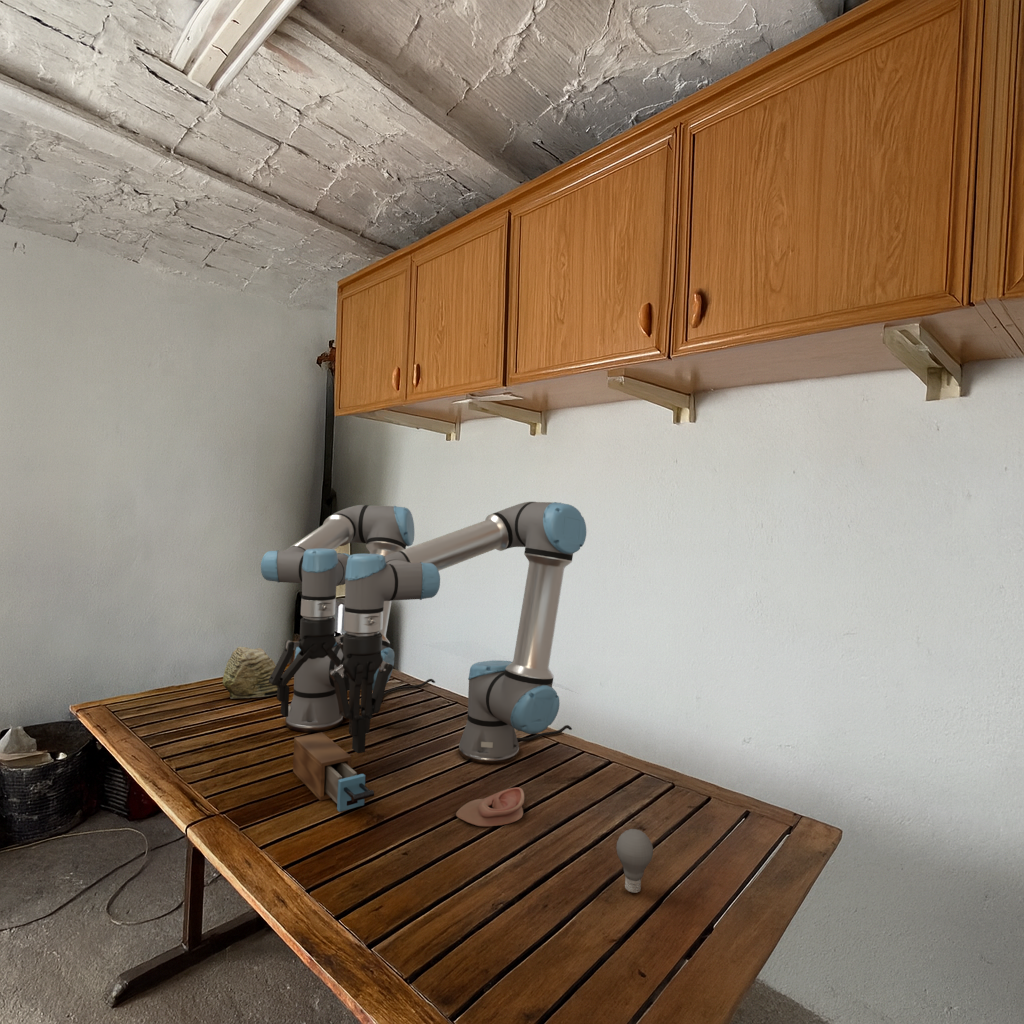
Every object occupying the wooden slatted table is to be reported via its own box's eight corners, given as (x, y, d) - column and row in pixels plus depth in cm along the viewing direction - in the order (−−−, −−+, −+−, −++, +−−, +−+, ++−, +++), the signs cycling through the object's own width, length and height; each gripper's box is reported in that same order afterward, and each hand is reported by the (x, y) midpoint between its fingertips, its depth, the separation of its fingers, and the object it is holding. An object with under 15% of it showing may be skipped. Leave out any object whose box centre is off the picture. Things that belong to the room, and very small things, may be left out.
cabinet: (349, 792, 136) (351, 756, 136) (320, 800, 132) (321, 763, 132) (320, 765, 149) (322, 732, 149) (292, 771, 145) (294, 737, 145)
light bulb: (610, 879, 108) (613, 822, 108) (644, 879, 109) (647, 822, 109) (619, 902, 102) (622, 840, 102) (655, 901, 103) (658, 840, 103)
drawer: (375, 815, 125) (377, 785, 125) (350, 823, 122) (351, 792, 122) (334, 777, 141) (335, 750, 141) (310, 782, 138) (311, 755, 138)
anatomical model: (451, 802, 125) (467, 778, 136) (451, 822, 125) (466, 796, 136) (517, 812, 122) (528, 786, 134) (516, 832, 123) (527, 804, 134)
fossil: (218, 695, 195) (220, 647, 195) (278, 685, 208) (279, 640, 207) (228, 703, 189) (230, 653, 188) (289, 692, 201) (290, 645, 201)
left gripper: (267, 624, 133) (263, 724, 134) (375, 615, 149) (372, 705, 149) (256, 618, 139) (252, 714, 139) (362, 610, 154) (358, 696, 155)
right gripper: (339, 639, 118) (334, 764, 119) (401, 632, 126) (396, 749, 127) (323, 631, 124) (319, 750, 125) (384, 625, 132) (379, 737, 133)
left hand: (314, 709), depth 144 cm, fingers open, 13 cm apart
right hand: (358, 750), depth 126 cm, fingers closed
